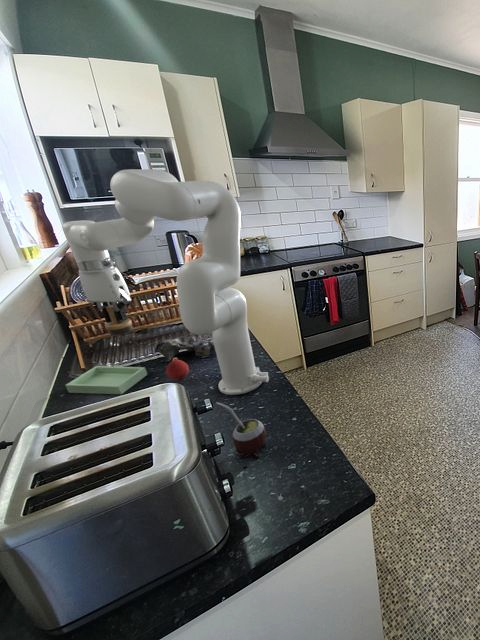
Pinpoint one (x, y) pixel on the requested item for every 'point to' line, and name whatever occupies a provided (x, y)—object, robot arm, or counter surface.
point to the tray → (107, 380)
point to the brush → (116, 327)
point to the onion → (177, 369)
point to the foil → (183, 347)
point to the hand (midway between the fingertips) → (117, 320)
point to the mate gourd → (247, 435)
